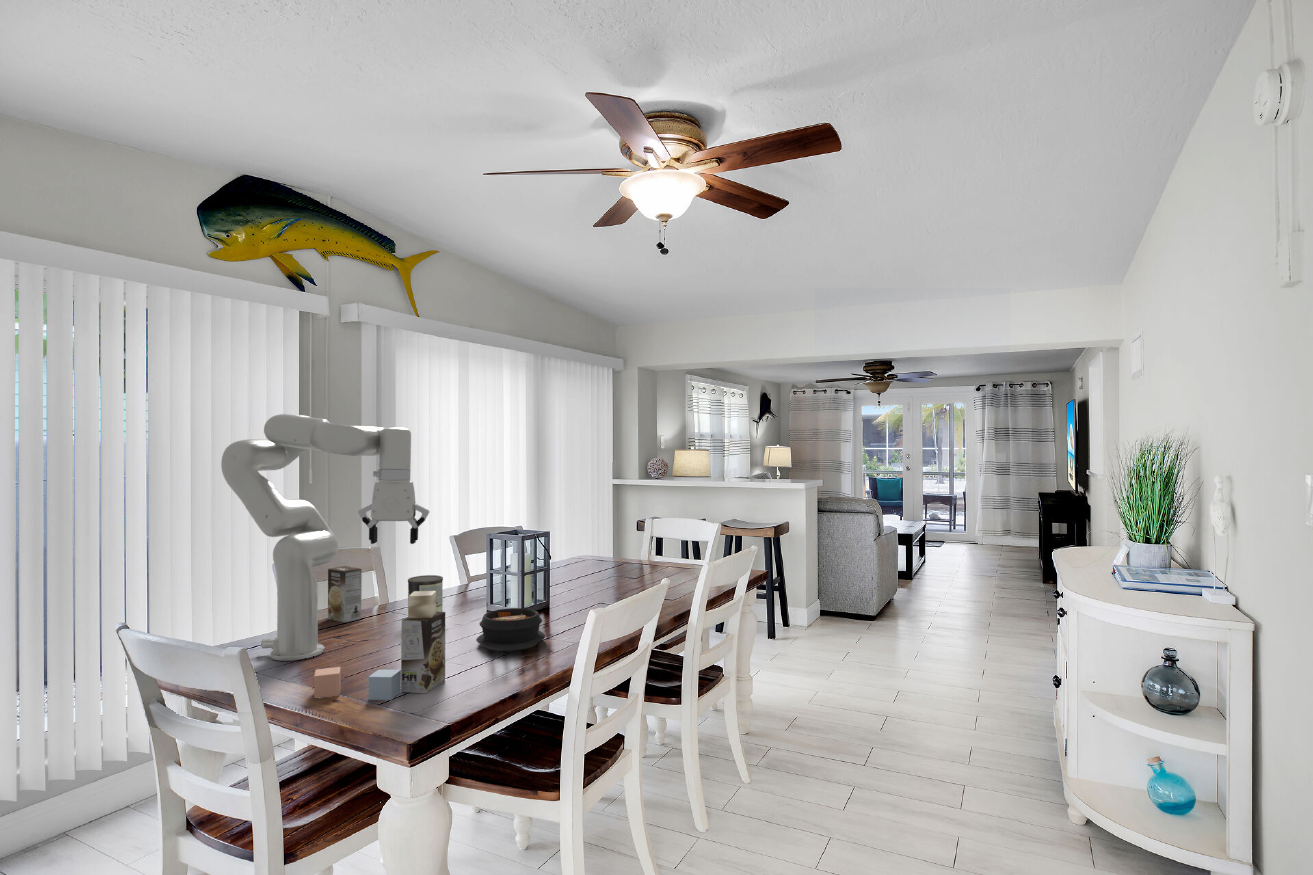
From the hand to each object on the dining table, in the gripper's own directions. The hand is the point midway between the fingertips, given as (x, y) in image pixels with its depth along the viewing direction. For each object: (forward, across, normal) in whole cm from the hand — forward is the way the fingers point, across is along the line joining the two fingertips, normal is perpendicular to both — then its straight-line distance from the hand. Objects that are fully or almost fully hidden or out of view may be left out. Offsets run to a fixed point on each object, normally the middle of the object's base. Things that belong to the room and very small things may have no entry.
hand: (393, 543), depth 179 cm
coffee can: (+30, 0, +37) cm, 48 cm away
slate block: (+30, +6, -26) cm, 40 cm away
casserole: (+30, +29, +12) cm, 43 cm away
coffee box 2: (+30, +13, -20) cm, 38 cm away
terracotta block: (+30, -8, -23) cm, 39 cm away
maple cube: (+13, +12, -20) cm, 27 cm away
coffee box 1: (+31, -27, +47) cm, 62 cm away
